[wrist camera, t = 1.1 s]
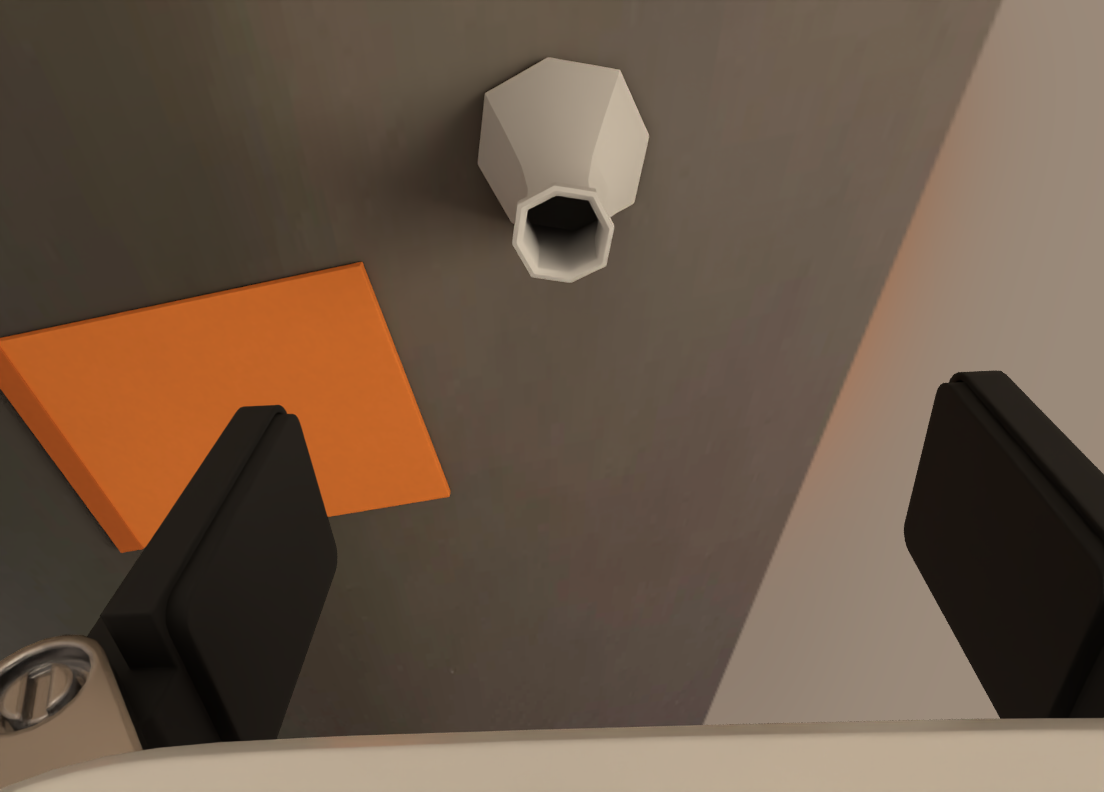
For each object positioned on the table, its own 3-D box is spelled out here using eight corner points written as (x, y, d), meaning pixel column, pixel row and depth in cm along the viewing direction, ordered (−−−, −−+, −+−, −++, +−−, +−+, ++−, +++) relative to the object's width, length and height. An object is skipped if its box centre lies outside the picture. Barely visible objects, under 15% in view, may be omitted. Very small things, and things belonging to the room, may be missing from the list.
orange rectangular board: (-22, 342, 37) (-30, 348, 37) (362, 261, 35) (359, 266, 34) (125, 545, 45) (120, 552, 44) (450, 491, 42) (449, 498, 41)
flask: (639, 39, 29) (671, 94, 21) (656, 217, 33) (688, 323, 25) (458, 71, 30) (419, 136, 22) (495, 241, 34) (473, 352, 26)
